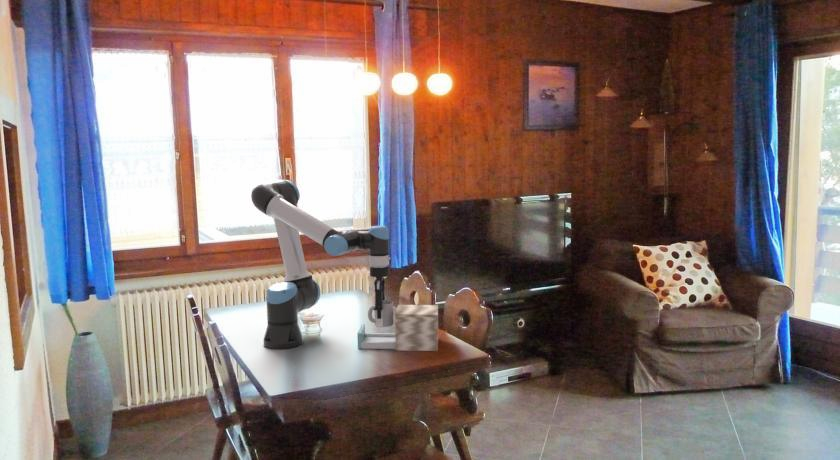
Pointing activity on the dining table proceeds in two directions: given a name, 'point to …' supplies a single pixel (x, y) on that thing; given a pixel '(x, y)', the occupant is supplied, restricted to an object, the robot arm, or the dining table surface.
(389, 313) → the cup
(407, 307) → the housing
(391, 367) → the dining table surface
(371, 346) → the tray
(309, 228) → the robot arm
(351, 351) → the dining table surface
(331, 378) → the dining table surface
